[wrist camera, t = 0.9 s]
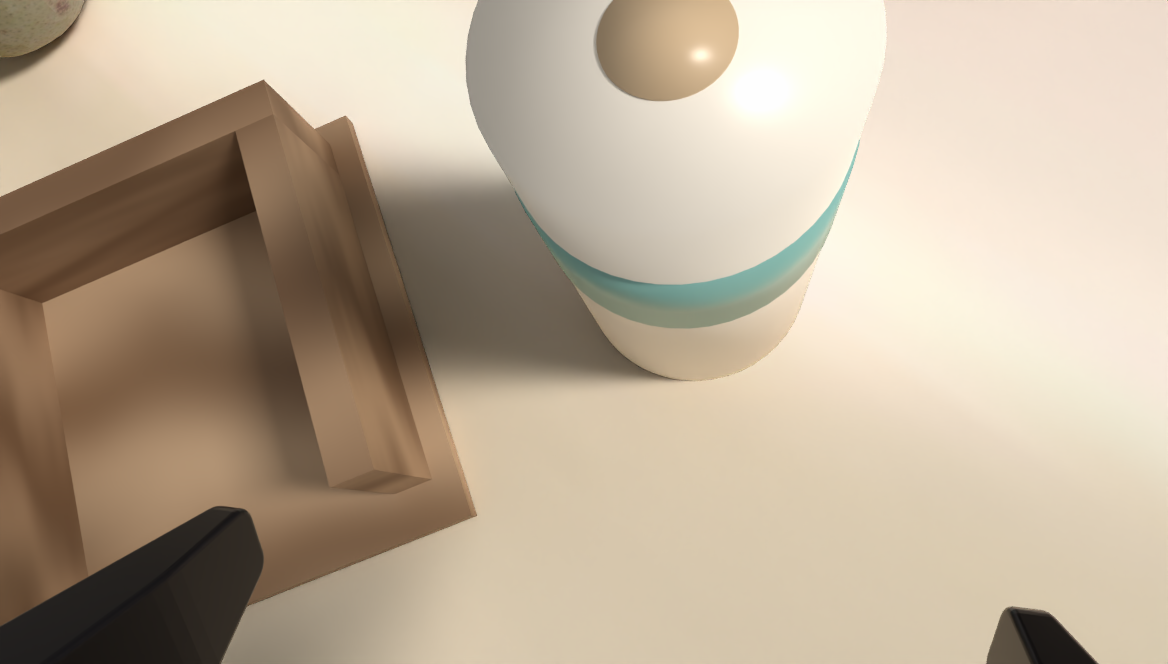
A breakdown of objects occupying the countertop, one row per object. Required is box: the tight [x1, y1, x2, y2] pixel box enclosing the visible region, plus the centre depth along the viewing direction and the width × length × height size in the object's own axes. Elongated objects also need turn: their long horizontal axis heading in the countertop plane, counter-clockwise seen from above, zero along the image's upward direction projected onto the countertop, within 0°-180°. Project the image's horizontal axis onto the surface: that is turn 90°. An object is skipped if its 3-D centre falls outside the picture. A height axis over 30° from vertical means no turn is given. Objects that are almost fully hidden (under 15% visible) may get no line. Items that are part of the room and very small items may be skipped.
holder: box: [0, 80, 477, 626], centre depth 23 cm, size 14×14×4 cm
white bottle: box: [466, 0, 887, 381], centre depth 18 cm, size 7×7×12 cm
